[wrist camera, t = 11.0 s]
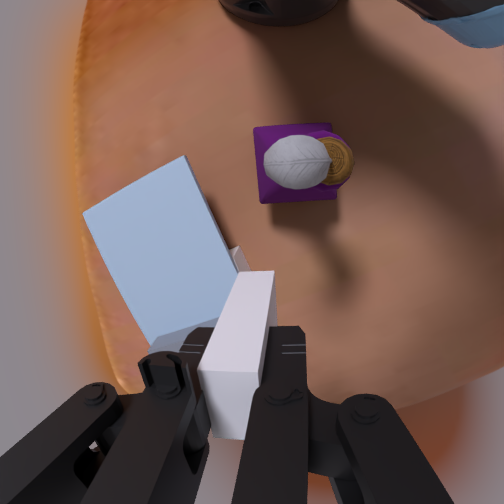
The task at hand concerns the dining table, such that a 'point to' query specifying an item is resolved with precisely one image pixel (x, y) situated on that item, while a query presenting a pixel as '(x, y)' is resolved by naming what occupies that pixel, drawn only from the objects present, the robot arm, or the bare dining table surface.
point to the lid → (165, 254)
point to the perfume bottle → (300, 162)
